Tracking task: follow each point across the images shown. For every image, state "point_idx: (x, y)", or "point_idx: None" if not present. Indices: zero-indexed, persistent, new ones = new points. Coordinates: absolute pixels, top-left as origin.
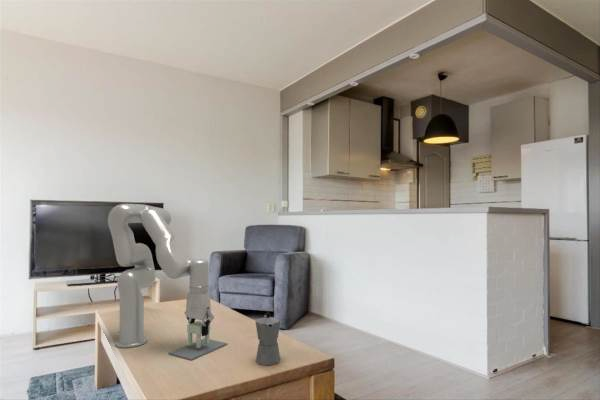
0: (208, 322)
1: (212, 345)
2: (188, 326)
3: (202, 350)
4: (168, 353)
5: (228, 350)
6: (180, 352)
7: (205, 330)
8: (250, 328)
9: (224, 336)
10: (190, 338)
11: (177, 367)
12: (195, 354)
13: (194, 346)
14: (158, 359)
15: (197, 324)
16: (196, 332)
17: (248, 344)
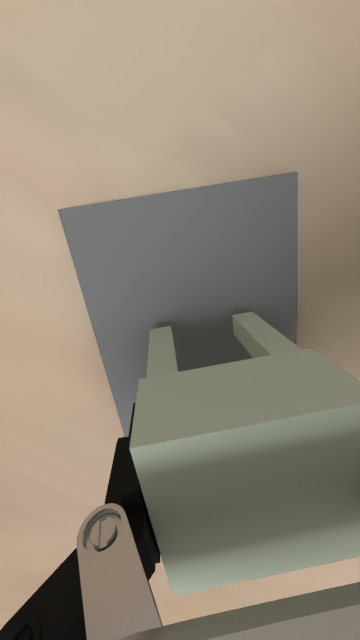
0: (4, 627)
1: None
2: (340, 388)
3: (147, 346)
4: (291, 173)
5: (61, 439)
6: (230, 235)
7: (112, 464)
8: (230, 607)
9: None
10: (250, 337)
11: (8, 47)
12: (118, 279)
13: (243, 351)
14: (271, 54)
15: (251, 488)
16: (172, 382)
17: (66, 528)
